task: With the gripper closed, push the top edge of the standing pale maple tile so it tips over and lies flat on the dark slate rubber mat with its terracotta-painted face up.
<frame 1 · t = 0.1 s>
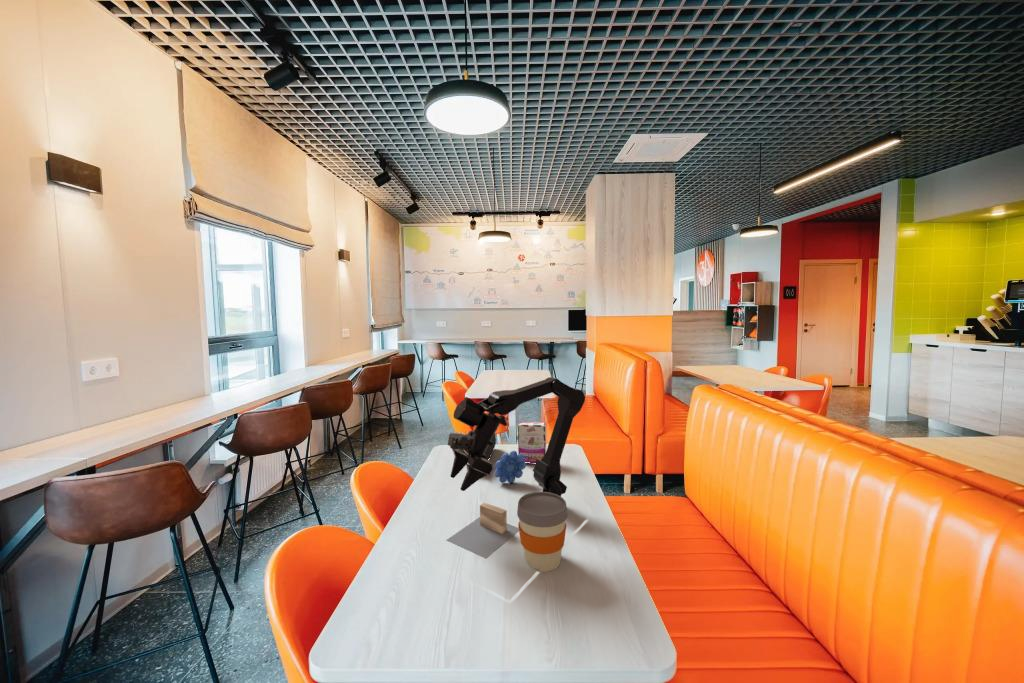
hand: (456, 483, 110), 15 cm above the table, tool tilted 30°, fingers open, 9 cm apart
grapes: (510, 482, 144), on the table
maple tile: (493, 527, 113), point 1 cm above the table, touching slate mat
reusable coffee cup: (542, 560, 99), on the table
candy bar box: (532, 462, 162), on the table
slate mat: (484, 536, 110), on the table
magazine: (485, 462, 163), on the table
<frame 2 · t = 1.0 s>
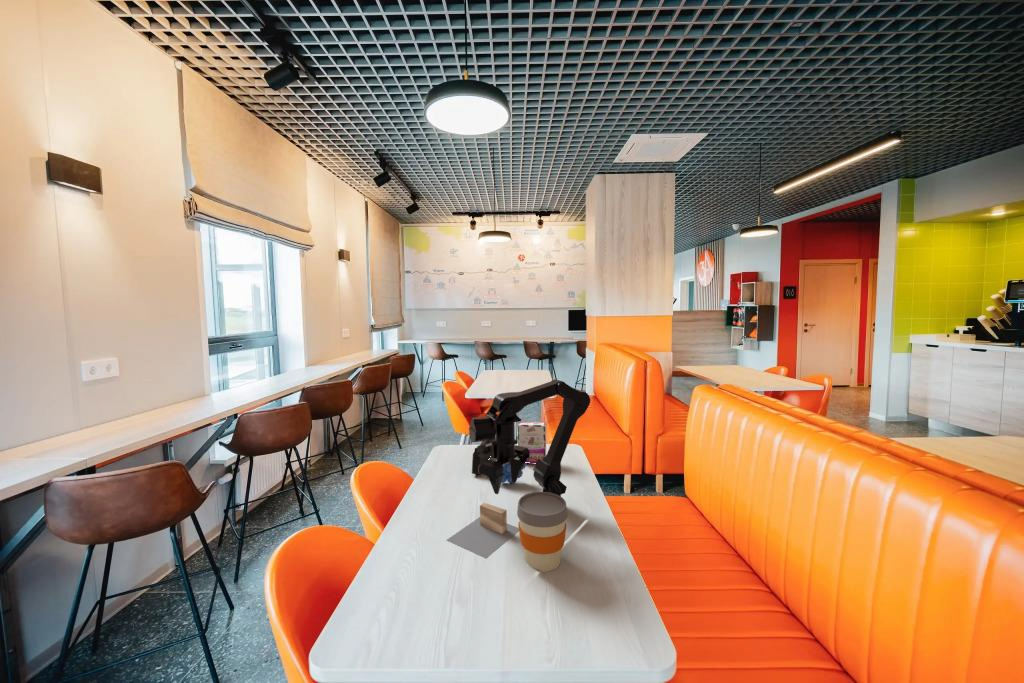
hand: (505, 487, 117), 10 cm above the table, tool pointing down, fingers open, 9 cm apart
nothing on the table moved.
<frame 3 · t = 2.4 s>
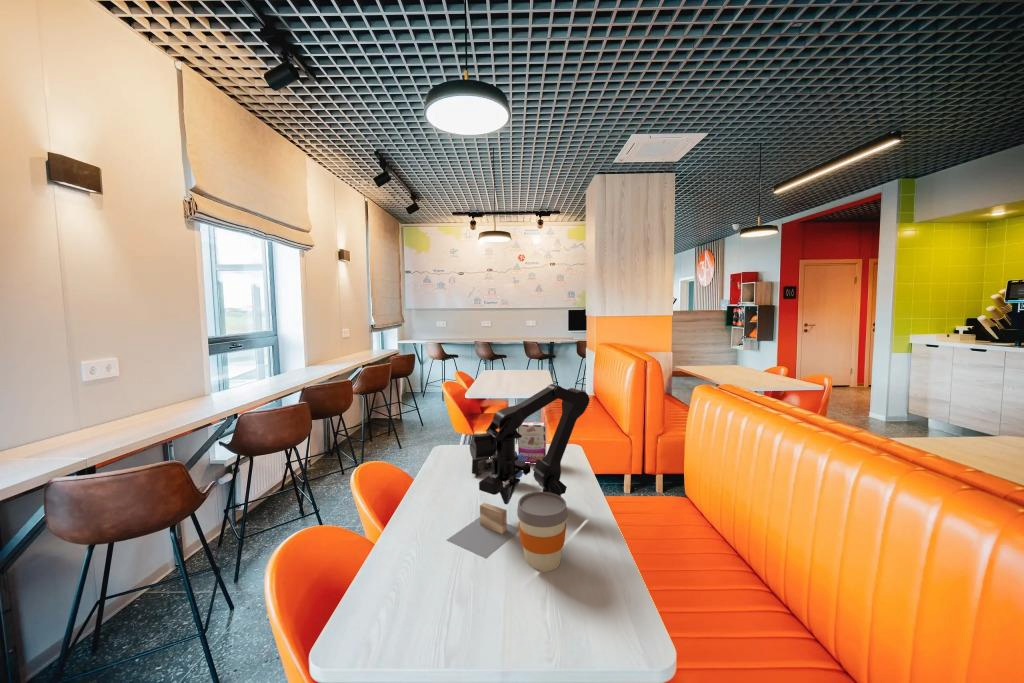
hand: (506, 503, 118), 5 cm above the table, tool pointing down, fingers closed
nothing on the table moved.
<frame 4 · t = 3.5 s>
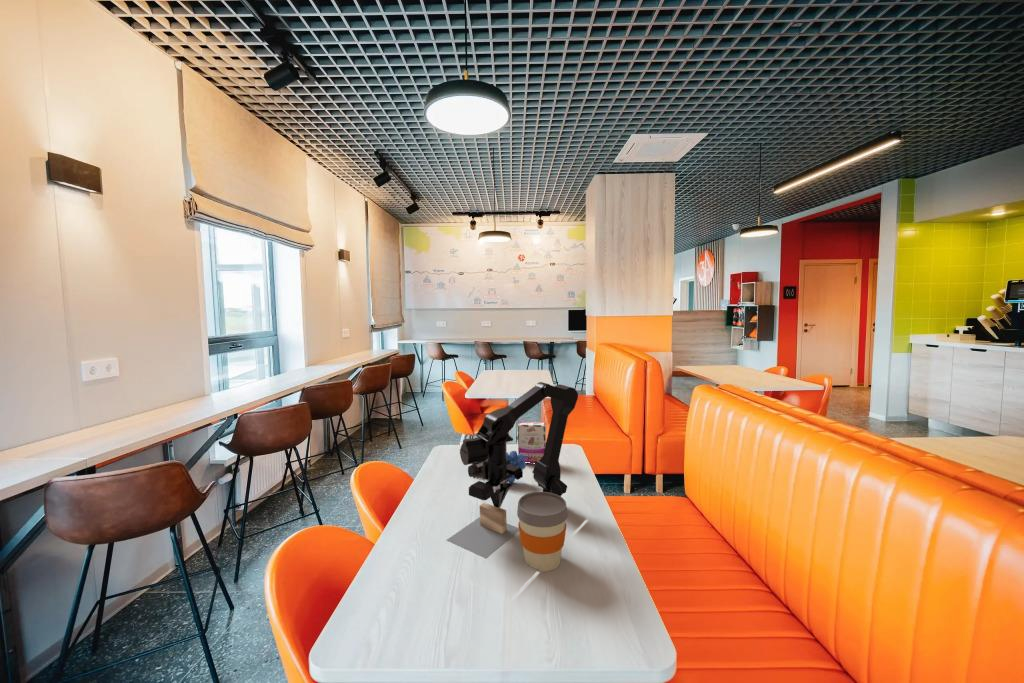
hand: (497, 509, 114), 5 cm above the table, tool pointing down, fingers closed
maple tile: (493, 527, 113), point 1 cm above the table, touching gripper, slate mat
everything else where it was.
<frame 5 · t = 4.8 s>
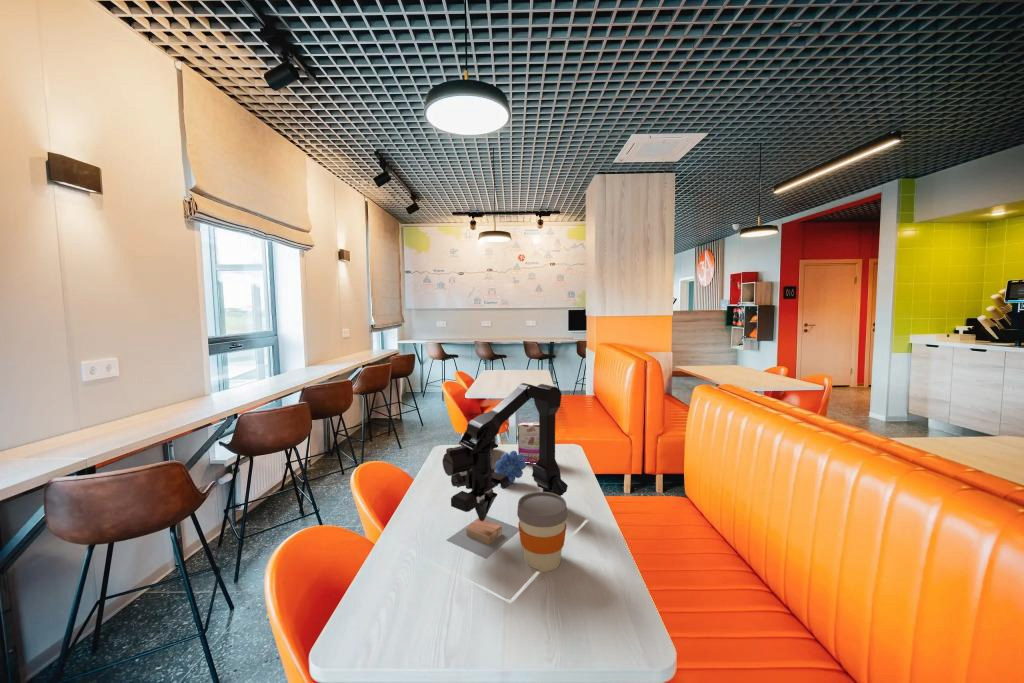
hand: (482, 520, 109), 5 cm above the table, tool pointing down, fingers closed
maple tile: (490, 525, 112), point 2 cm above the table, tilted 90°, touching slate mat
everything else where it was.
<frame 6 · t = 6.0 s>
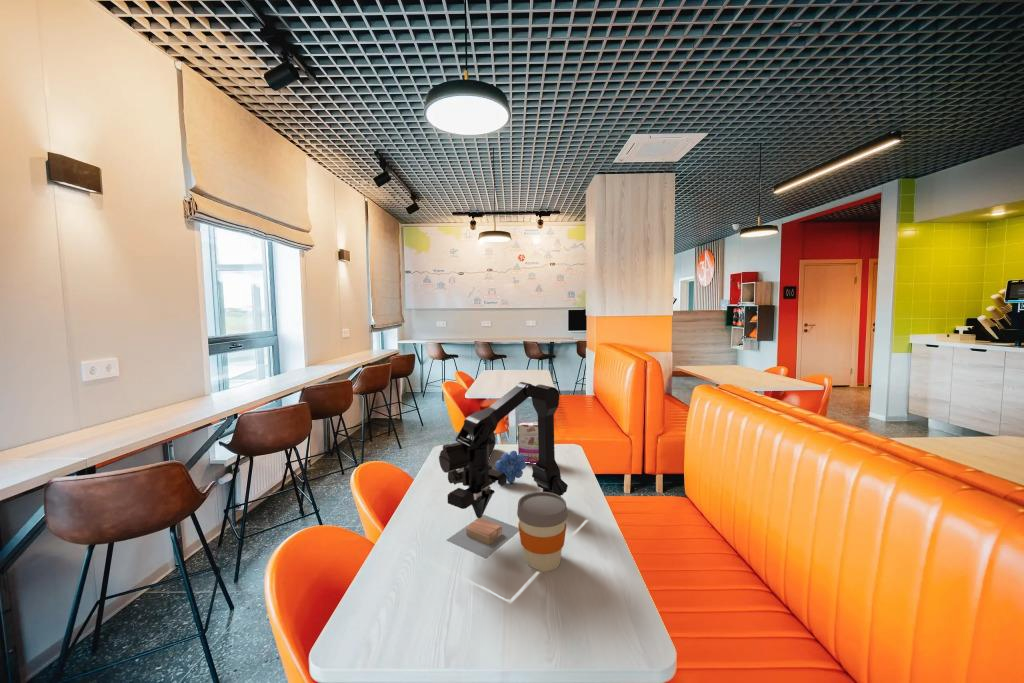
hand: (479, 517, 108), 6 cm above the table, tool pointing down, fingers closed
nothing on the table moved.
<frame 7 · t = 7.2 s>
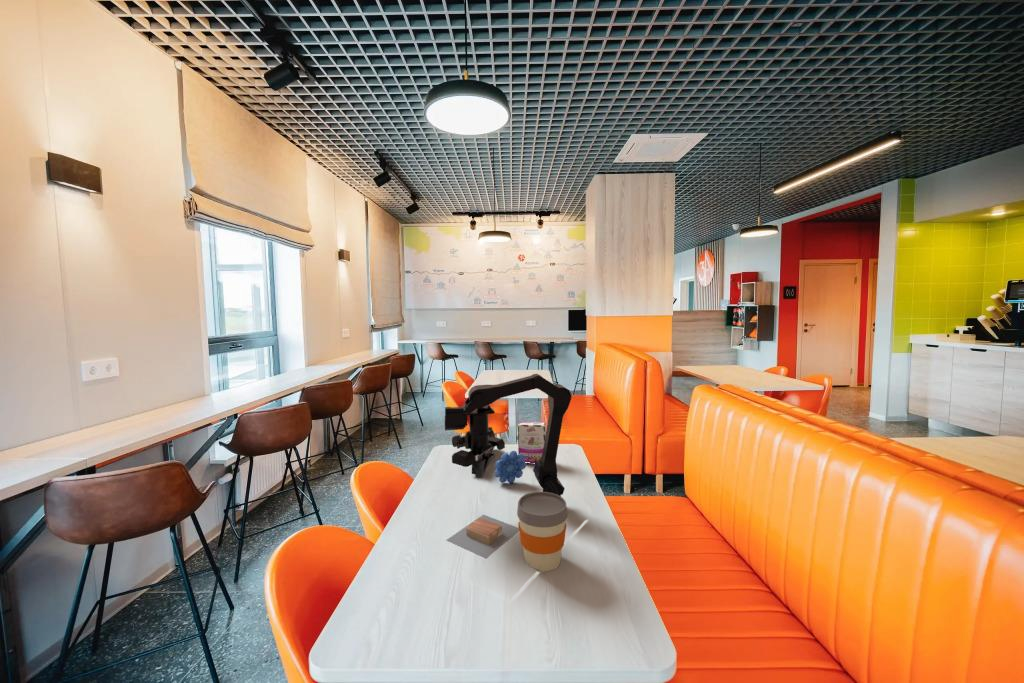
hand: (480, 477, 120), 12 cm above the table, tool pointing down, fingers closed
nothing on the table moved.
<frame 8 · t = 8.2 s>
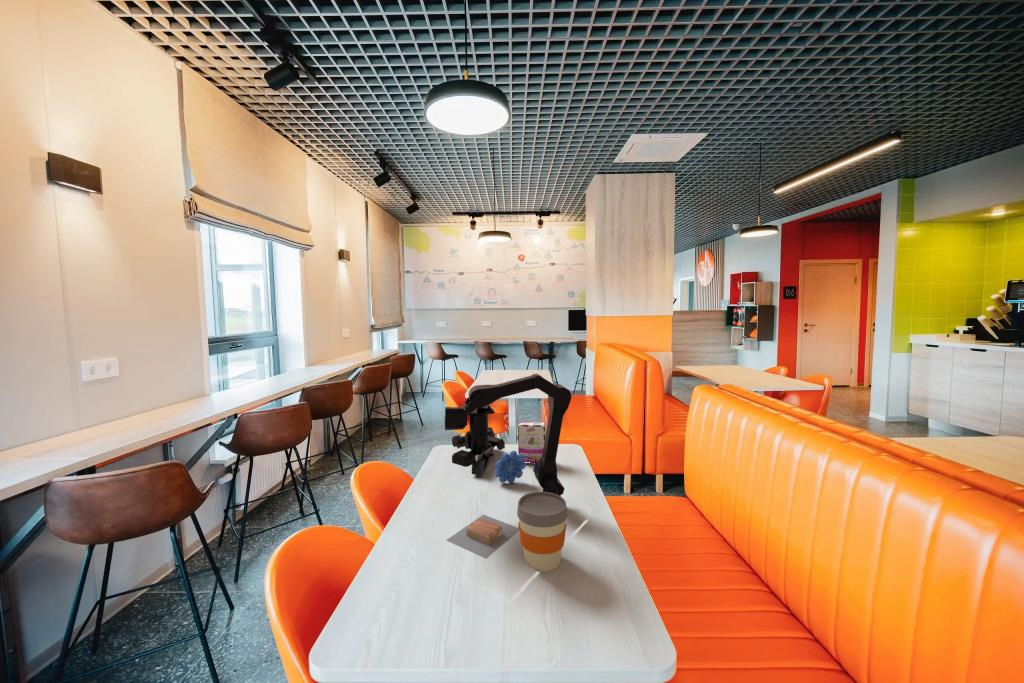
hand: (480, 477, 120), 12 cm above the table, tool pointing down, fingers closed
nothing on the table moved.
at the end: maple tile tilted 90°; maple tile inside the target area on the slate mat (2.9 cm from its centre), point 1.7 cm above the slate mat's base; maple tile touching slate mat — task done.
